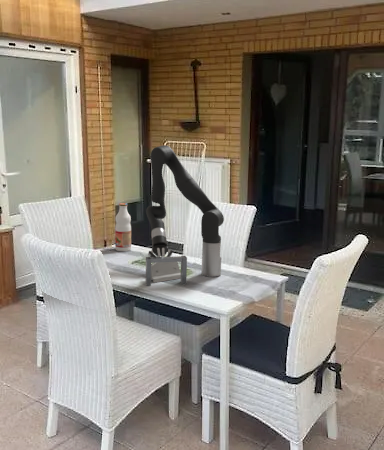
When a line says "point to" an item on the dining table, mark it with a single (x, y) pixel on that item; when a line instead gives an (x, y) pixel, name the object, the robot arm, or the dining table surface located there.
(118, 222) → the fruit juice
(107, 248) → the dining table surface
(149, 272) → the bar
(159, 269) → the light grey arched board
